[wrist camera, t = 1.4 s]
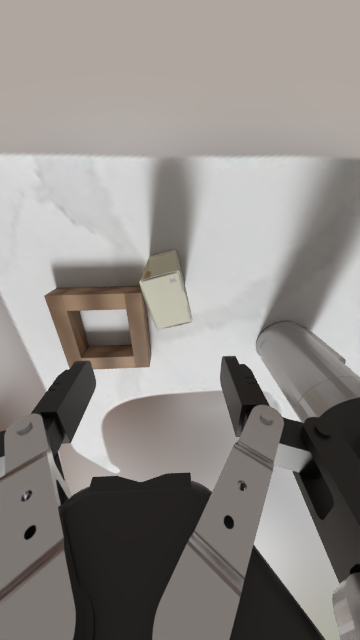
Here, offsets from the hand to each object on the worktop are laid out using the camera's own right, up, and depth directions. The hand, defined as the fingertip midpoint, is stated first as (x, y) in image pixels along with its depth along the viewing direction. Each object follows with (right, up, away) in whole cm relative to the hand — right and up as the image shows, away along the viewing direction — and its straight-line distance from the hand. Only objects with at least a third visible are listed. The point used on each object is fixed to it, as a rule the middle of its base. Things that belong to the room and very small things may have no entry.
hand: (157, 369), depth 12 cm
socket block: (-11, +2, +23) cm, 26 cm away
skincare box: (-1, +11, +20) cm, 22 cm away
